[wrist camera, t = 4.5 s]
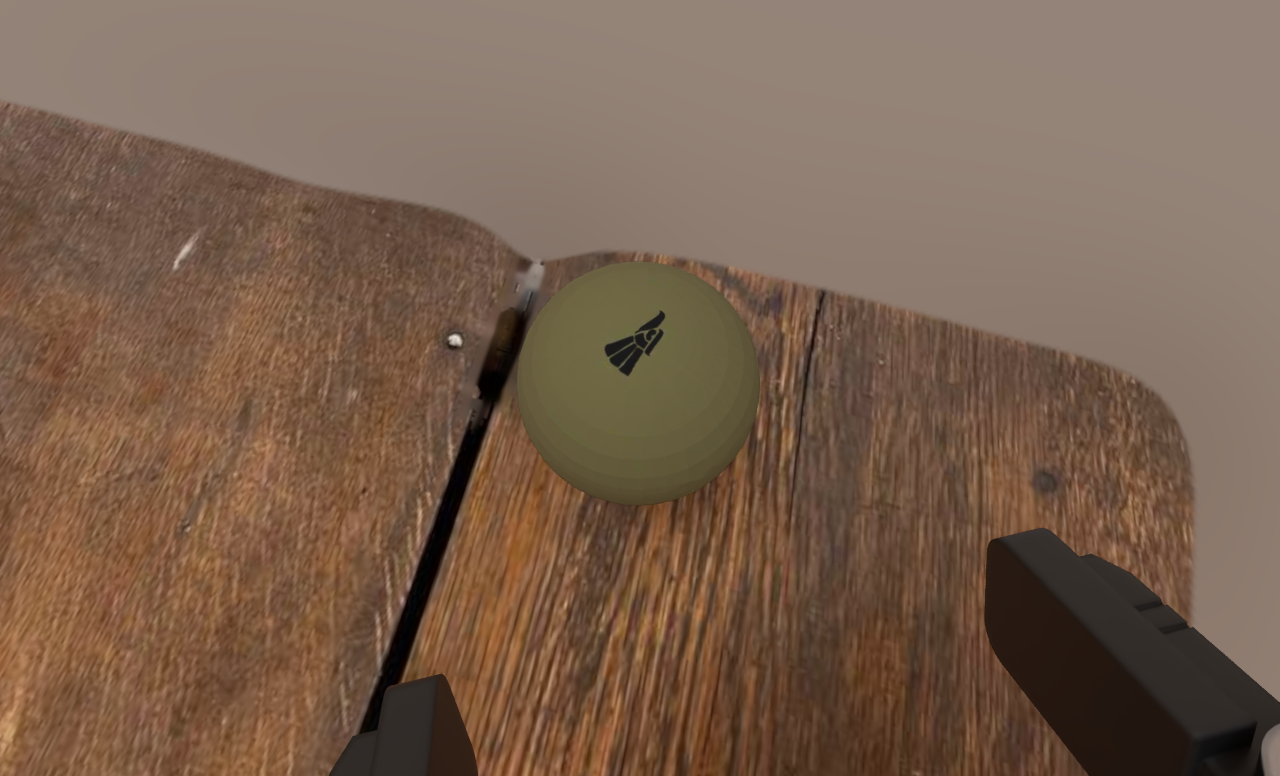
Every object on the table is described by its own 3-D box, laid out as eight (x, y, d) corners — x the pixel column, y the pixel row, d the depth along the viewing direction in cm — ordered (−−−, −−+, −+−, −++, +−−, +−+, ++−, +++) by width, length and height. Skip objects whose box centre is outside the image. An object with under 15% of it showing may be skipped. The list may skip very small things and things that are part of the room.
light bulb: (688, 576, 24) (717, 520, 14) (523, 504, 24) (445, 405, 15) (753, 414, 25) (817, 267, 16) (596, 352, 26) (568, 176, 17)
